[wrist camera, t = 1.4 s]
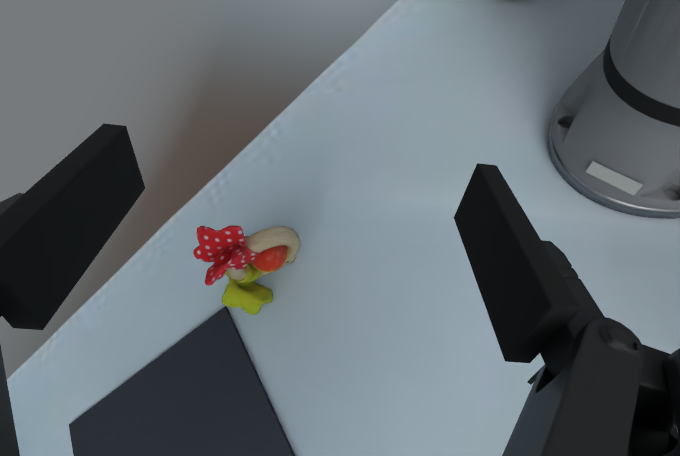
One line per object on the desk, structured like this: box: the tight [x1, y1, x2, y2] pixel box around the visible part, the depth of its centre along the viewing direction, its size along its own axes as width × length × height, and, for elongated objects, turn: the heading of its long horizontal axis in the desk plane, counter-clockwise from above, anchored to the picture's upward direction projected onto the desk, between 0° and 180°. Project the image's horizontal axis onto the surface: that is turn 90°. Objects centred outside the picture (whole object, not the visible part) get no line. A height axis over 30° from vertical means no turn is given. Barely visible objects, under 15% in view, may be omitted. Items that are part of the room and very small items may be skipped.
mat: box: [69, 307, 295, 456], centre depth 32 cm, size 20×16×1 cm
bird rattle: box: [194, 225, 300, 315], centre depth 32 cm, size 6×11×9 cm
